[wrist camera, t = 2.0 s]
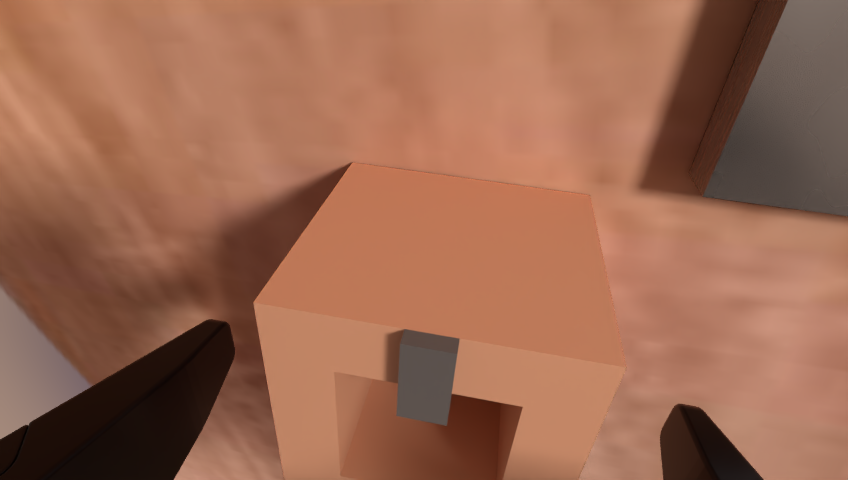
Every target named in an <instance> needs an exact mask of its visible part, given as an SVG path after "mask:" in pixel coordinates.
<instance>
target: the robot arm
mask: <svg viewBox="0 0 848 480" xmlns="http://www.w3.org/2000/svg"><path fill="white" fill-rule="evenodd" d="M234 355H235V347H234V342H233V338H232V333H231V329H230V325H229V324H228V323H227V322H224V321H218V320H213V319H209V320H206V321H204V322H202V323H201V324H199V325H197V326H195V327H194V328H192V329H190V330H188V331H187V332H185V333H183V334H182V335H180V336H178V337H176V338H175V339H173V340H171V341H170V342H168V343H166V344H164V345H163V346H161V347H159V348H157V349H156V350H154V351H152V352H151V353H149V354H147V355H145V356H144V357H142V358H140V359H139V360H137V361H135V362H133V363H132V364H130V365H128V366H126V367H125V368H123V369H121V370H120V371H118V372H116V373H114V374H113V375H111V376H109V377H107V378H106V379H104V380H102V381H101V382H99V383H97V384H95V385H94V386H92V387H90V388H89V389H87V390H85V391H83V392H82V393H80V394H78V395H77V396H75V397H73V398H71V399H70V400H68V401H66V402H64V403H63V404H61V405H59V406H58V407H56V408H54V409H52V410H51V411H49V412H47V413H45V414H44V415H42V416H40V417H39V418H37V419H35V420H33V421H32V422H30V424H29V426H28V425H25V426H23V427H21V428H19V429H18V430H16V431H14V432H12V433H11V434H9V435H7V436H6V437H4V438H2V439H0V480H174V478H175V476H176V475H177V473H178V471H179V469H180V468H181V466H182V464H183V462H184V461H185V459H186V457H187V455H188V454H189V452H190V450H191V448H192V447H193V445H194V443H195V441H196V440H197V438H198V436H199V434H200V432H201V431H202V429H203V427H204V425H205V423H206V421H207V419H208V416H209V414H210V412H211V410H212V407H213V405H214V403H215V401H216V398H217V396H218V394H219V391H220V389H221V387H222V385H223V382H224V380H225V378H226V376H227V373H228V371H229V369H230V366H231V364H232V362H233V359H234ZM660 447H661V458H662V469H663V480H764V479H763V478H762V477H761V476H760V475H759V474H758V473H757V471H756V470H755V469H754V468H753V467H752V466H751V465H750V463H749V462H748V461H747V460H746V459H745V458H744V456H743V455H742V454H741V453H740V452H739V451H738V450H737V448H736V447H735V446H734V445H733V444H732V443H731V442H730V440H729V439H728V438H727V437H726V436H725V435H724V434H723V432H722V431H721V430H720V429H719V428H718V427H717V425H716V424H715V423H714V422H713V421H712V420H711V419H710V417H709V416H708V415H707V414H706V413H705V412H704V411H703V410H702V409H701V408H699V407H696V406H691V405H685V404H677V405H675V406H674V408H673V409H672V411H671V413H670V415H669V417H668V418H667V420H666V422H665V424H664V426H663V428H662V430H661V434H660Z"/></svg>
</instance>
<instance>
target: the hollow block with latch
mask: <svg viewBox="0 0 848 480" xmlns="http://www.w3.org/2000/svg"><path fill="white" fill-rule="evenodd" d="M253 304H254V310H255V316H256V321H257V327H258V333H259V339H260V344H261V350H262V356H263V361H264V367H265V373H266V379H267V384H268V390H269V396H270V402H271V407H272V413H273V419H274V424H275V430H276V436H277V442H278V447H279V453H280V459H281V465H282V470H283V476H284V480H578V479H579V476H580V474H581V472H582V470H583V467H584V465H585V463H586V460H587V458H588V456H589V453H590V451H591V449H592V446H593V444H594V442H595V439H596V437H597V435H598V433H599V430H600V428H601V426H602V423H603V421H604V419H605V416H606V414H607V412H608V409H609V407H610V405H611V403H612V400H613V398H614V396H615V393H616V391H617V389H618V386H619V384H620V382H621V379H622V377H623V375H624V373H625V370H626V368H627V367H626V362H625V358H624V353H623V348H622V344H621V339H620V334H619V329H618V325H617V320H616V315H615V311H614V306H613V301H612V297H611V292H610V287H609V282H608V278H607V273H606V268H605V264H604V259H603V254H602V249H601V245H600V240H599V235H598V231H597V226H596V221H595V216H594V212H593V207H592V202H591V198H590V195H585V194H578V193H570V192H563V191H556V190H549V189H541V188H534V187H527V186H520V185H512V184H505V183H498V182H491V181H483V180H476V179H469V178H461V177H454V176H447V175H440V174H432V173H425V172H418V171H411V170H403V169H396V168H389V167H382V166H374V165H367V164H360V163H353V162H352V164H351V165H350V167H349V168H348V169H347V171H346V172H345V174H344V175H343V176H342V178H341V179H340V181H339V182H338V183H337V185H336V186H335V188H334V189H333V191H332V192H331V193H330V195H329V196H328V198H327V199H326V200H325V202H324V203H323V205H322V206H321V208H320V209H319V210H318V212H317V213H316V215H315V216H314V217H313V219H312V220H311V222H310V223H309V224H308V226H307V227H306V229H305V230H304V232H303V233H302V234H301V236H300V237H299V239H298V240H297V241H296V243H295V244H294V246H293V247H292V248H291V250H290V251H289V253H288V254H287V256H286V257H285V258H284V260H283V261H282V263H281V264H280V265H279V267H278V268H277V270H276V271H275V272H274V274H273V275H272V277H271V278H270V280H269V281H268V282H267V284H266V285H265V287H264V288H263V289H262V291H261V292H260V294H259V295H258V297H257V298H256V299H255V301H254V302H253Z"/></svg>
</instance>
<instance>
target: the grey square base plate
mask: <svg viewBox="0 0 848 480" xmlns="http://www.w3.org/2000/svg"><path fill="white" fill-rule="evenodd" d="M689 175H690V177H691V178H692V180H693V182H694V183H695V185H696V186H697V188H698V190H699V191H700V193H701V195H702V196H703V197H709V198H717V199H724V200H731V201H739V202H746V203H754V204H761V205H768V206H776V207H783V208H791V209H798V210H805V211H813V212H820V213H828V214H835V215H843V216H848V0H759V2H758V4H757V7H756V9H755V11H754V14H753V16H752V19H751V21H750V24H749V26H748V29H747V31H746V34H745V36H744V39H743V41H742V44H741V46H740V48H739V51H738V53H737V56H736V58H735V61H734V63H733V66H732V68H731V71H730V73H729V76H728V78H727V81H726V83H725V85H724V88H723V90H722V93H721V95H720V98H719V100H718V103H717V105H716V108H715V110H714V113H713V115H712V118H711V120H710V122H709V125H708V127H707V130H706V132H705V135H704V137H703V140H702V142H701V145H700V147H699V150H698V152H697V155H696V157H695V159H694V162H693V164H692V167H691V169H690V172H689Z"/></svg>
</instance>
